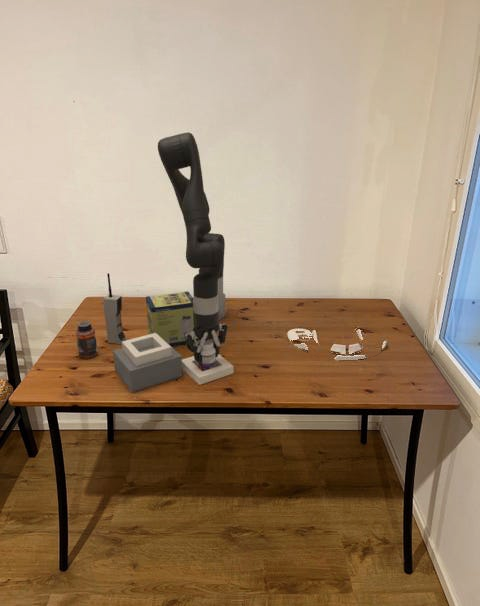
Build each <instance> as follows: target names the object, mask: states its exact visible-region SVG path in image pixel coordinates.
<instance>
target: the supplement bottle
mask: <svg viewBox="0 0 480 606" xmlns="http://www.w3.org/2000/svg"><path fill="white" fill-rule="evenodd" d="M75 337H76V345H77V351H78V355H79V357H80V358H82V359H91V358H94V357H96V356H97V355H98V353H99V352H98V344H97V343H98V342H97V335H96V330H95V328H93V326H92V323H91V321H88V320H86V321H85V320H84V321H81V322H78V323H77V329H76V331H75Z"/></svg>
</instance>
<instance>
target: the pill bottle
mask: <svg viewBox="0 0 480 606" xmlns="http://www.w3.org/2000/svg"><path fill="white" fill-rule="evenodd" d="M213 344H214V343H213V341H212V340H207V341H205V342H204V344H203V346H202V347H201V350H200V352H201V362H200V363H198V366H197V367H198V368H199V369H200V370H201V371H205V370H209V369H212V368H215V367H216V350H215V348H214V347H213Z"/></svg>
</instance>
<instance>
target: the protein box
mask: <svg viewBox="0 0 480 606" xmlns="http://www.w3.org/2000/svg"><path fill="white" fill-rule="evenodd" d="M145 303H146V305H145V306H146V314H147V315H146V316H147V330H148V331H147V332H148V335H149V334H153V333H157V334H158V335H159V336H160V337H162V338H163V339H164V340H165V341H166V342H167V343H168V344H169V345H170V346H171V347H172V348H174V347H178V346H184V345H187V344H186V340H185V336H184V334H185V332H187V333H190V332H192V331H193V328H194V322H193V296H192V295H191V293H190V292H189V291H180V292H174V293H173V292H172V293H166V294H158V295H157V294H156V295H147V296H146V297H145ZM195 337H196V335H194V339H193V344H194V343H195V342H194V340H195Z"/></svg>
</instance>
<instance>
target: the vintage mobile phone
mask: <svg viewBox="0 0 480 606" xmlns="http://www.w3.org/2000/svg"><path fill="white" fill-rule="evenodd" d="M107 283H108V294H107V295H106V296H104V298H103V299H102V303H103V304H102V305H103V313H104V320H105V327H106V339H107V343H109V344H114V345H122V341H126V340H127V337H126V335H125V333H124V331H123V324H122V323H123V322H122V313H121V312H122V310H123V305H122V304H123V303H122V302H123V296H122V295H117V294H112V293H113V292H112V287H111V278H110V273H107Z"/></svg>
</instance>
